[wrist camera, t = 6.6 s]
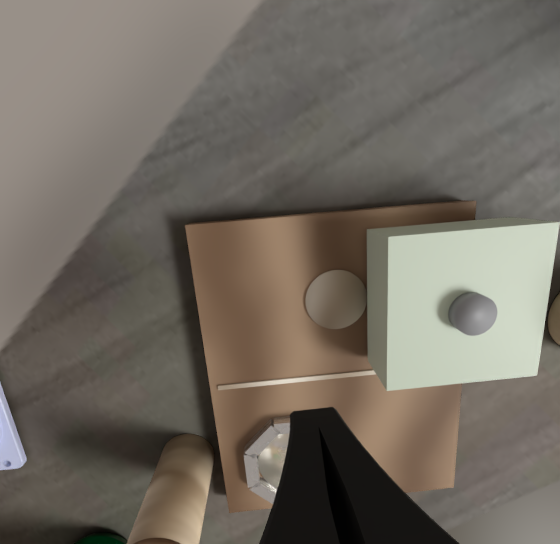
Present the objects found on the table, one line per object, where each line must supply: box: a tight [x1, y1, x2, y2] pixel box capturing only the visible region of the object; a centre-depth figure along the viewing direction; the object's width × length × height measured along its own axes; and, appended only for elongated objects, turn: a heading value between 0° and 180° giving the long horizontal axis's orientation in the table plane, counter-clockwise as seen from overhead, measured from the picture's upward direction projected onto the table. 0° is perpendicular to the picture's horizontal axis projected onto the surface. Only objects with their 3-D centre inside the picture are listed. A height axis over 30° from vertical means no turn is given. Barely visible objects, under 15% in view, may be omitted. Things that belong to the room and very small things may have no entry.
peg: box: [127, 434, 215, 544], centre depth 18 cm, size 4×4×7 cm
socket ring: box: [244, 416, 290, 504], centre depth 20 cm, size 7×7×1 cm
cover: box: [367, 217, 560, 391], centre depth 16 cm, size 8×8×4 cm
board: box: [185, 201, 476, 513], centre depth 20 cm, size 16×20×1 cm
